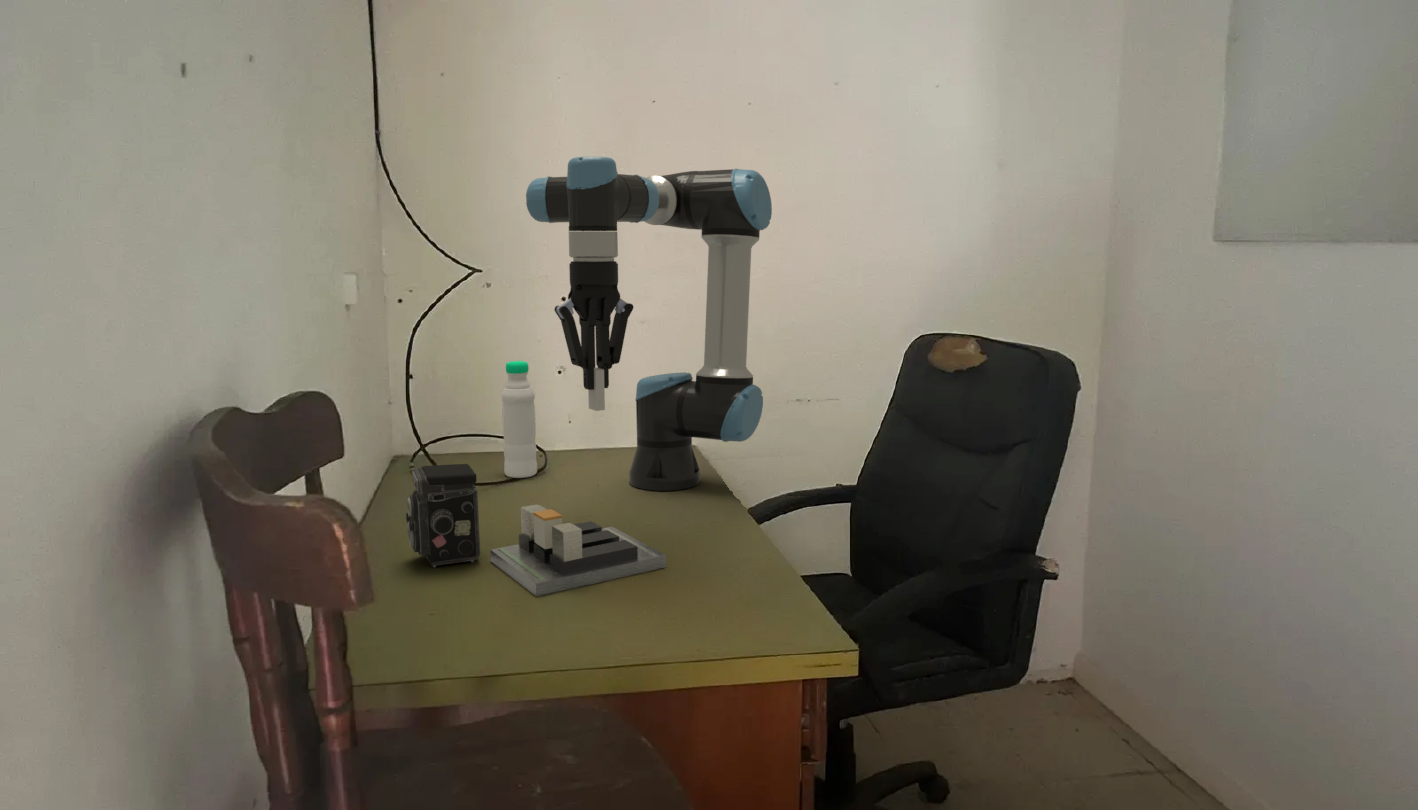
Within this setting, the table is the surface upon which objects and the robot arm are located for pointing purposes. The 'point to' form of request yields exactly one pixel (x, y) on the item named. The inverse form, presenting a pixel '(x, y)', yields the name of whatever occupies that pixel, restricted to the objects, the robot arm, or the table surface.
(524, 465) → the water bottle
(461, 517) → the camera
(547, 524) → the block
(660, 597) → the table surface
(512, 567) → the panel
